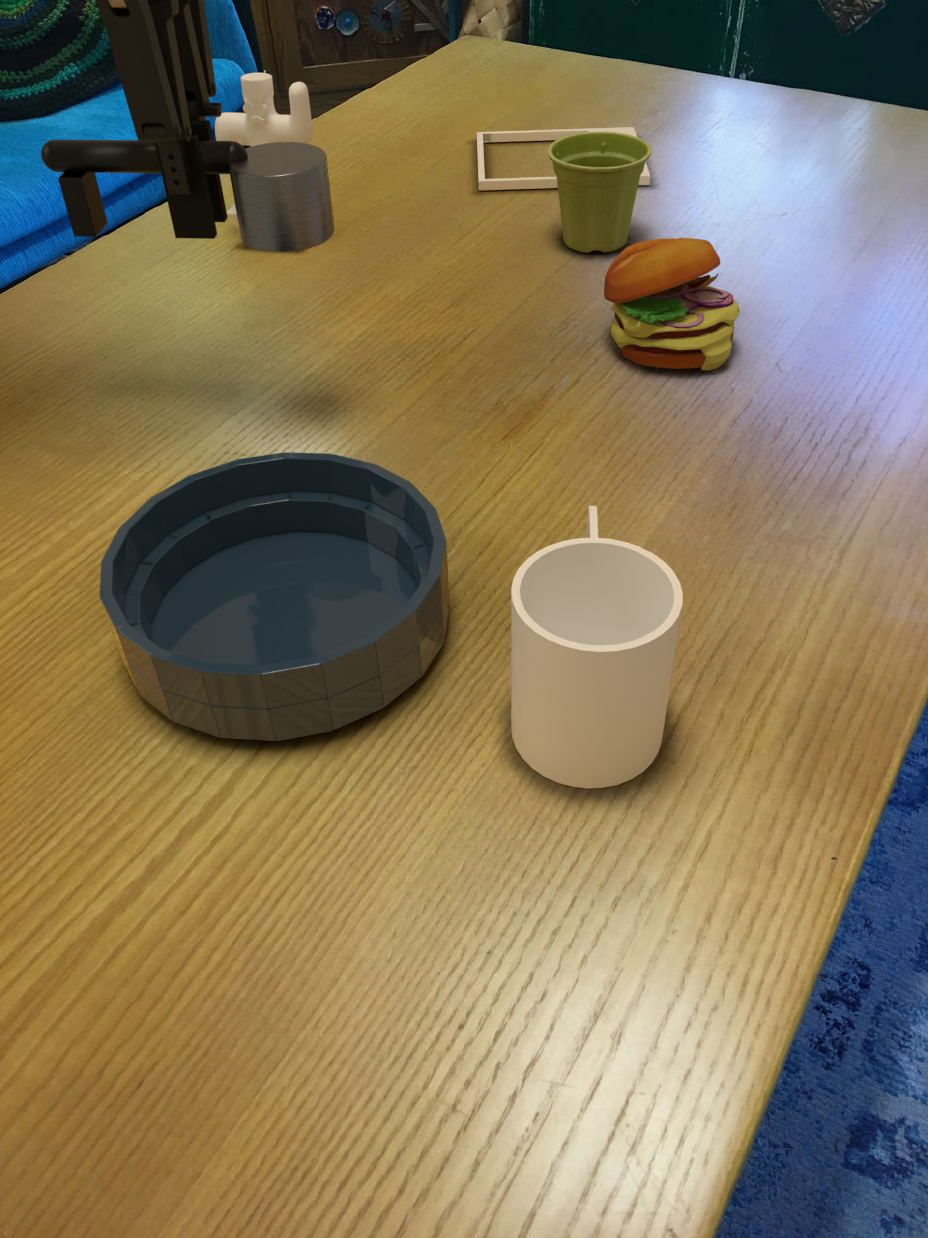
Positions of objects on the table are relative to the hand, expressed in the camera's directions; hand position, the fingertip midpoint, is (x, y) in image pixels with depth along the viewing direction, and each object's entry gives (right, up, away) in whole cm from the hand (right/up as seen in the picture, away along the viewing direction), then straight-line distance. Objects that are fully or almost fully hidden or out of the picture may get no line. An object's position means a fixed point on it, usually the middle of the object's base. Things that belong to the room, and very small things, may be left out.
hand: (201, 227), depth 73 cm
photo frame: (+29, +23, +44) cm, 58 cm away
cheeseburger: (+35, -5, +15) cm, 38 cm away
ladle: (0, 0, 0) cm, 0 cm away
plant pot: (+31, +9, +30) cm, 44 cm away
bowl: (+7, -27, -9) cm, 30 cm away
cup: (+25, -32, -14) cm, 43 cm away
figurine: (0, +11, +32) cm, 34 cm away
